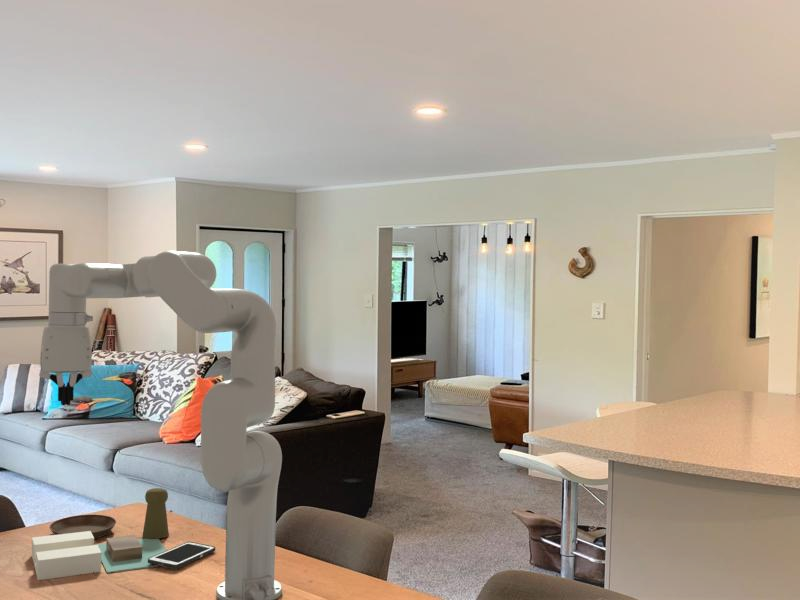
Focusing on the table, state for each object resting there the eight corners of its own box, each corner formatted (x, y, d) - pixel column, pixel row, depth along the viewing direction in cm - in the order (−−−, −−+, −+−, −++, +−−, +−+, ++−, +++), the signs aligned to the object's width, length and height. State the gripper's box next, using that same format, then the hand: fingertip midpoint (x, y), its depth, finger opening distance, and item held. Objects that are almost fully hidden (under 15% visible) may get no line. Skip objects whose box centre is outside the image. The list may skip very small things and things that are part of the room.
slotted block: (101, 571, 167) (101, 552, 167) (37, 580, 162) (38, 560, 162) (90, 548, 181) (90, 530, 181) (31, 555, 176) (32, 537, 176)
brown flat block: (113, 550, 172) (113, 562, 172) (142, 546, 175) (142, 558, 175) (106, 538, 180) (106, 549, 180) (134, 534, 183) (134, 545, 183)
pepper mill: (140, 533, 193) (141, 487, 193) (166, 531, 195) (167, 485, 196) (144, 539, 187) (145, 491, 188) (170, 537, 190) (171, 490, 190)
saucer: (93, 547, 183) (93, 535, 183) (35, 541, 186) (35, 529, 186) (127, 528, 198) (128, 517, 198) (73, 523, 201) (74, 512, 201)
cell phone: (145, 563, 171) (145, 559, 171) (188, 545, 185) (189, 541, 185) (175, 570, 168) (175, 565, 168) (217, 551, 182) (217, 546, 182)
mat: (175, 563, 173) (175, 562, 173) (107, 573, 166) (107, 571, 166) (157, 538, 190) (157, 537, 190) (93, 546, 183) (94, 544, 183)
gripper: (100, 319, 183) (99, 400, 183) (28, 319, 176) (26, 403, 176) (106, 321, 176) (104, 405, 176) (30, 321, 169) (29, 408, 169)
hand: (65, 404), depth 176 cm, fingers closed
